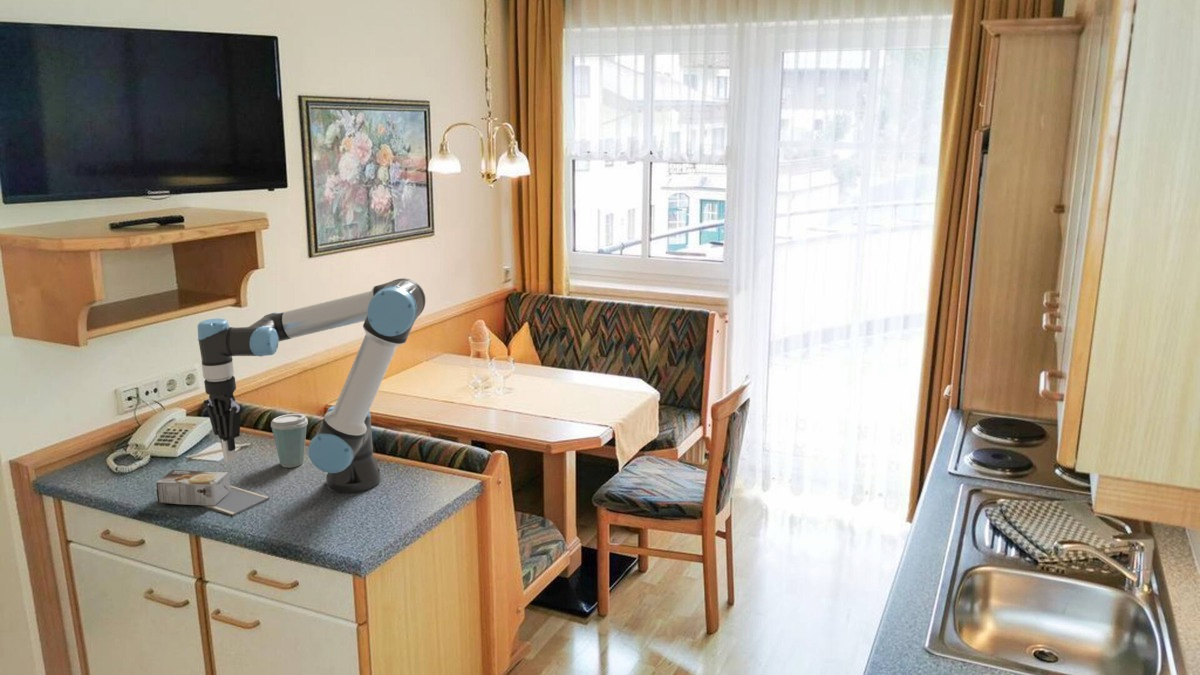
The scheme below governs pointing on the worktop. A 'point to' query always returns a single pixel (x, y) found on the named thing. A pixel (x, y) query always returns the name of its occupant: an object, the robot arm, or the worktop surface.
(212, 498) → the coffee box
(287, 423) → the disposable coffee cup
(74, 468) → the worktop surface
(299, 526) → the worktop surface
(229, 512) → the felt mat
